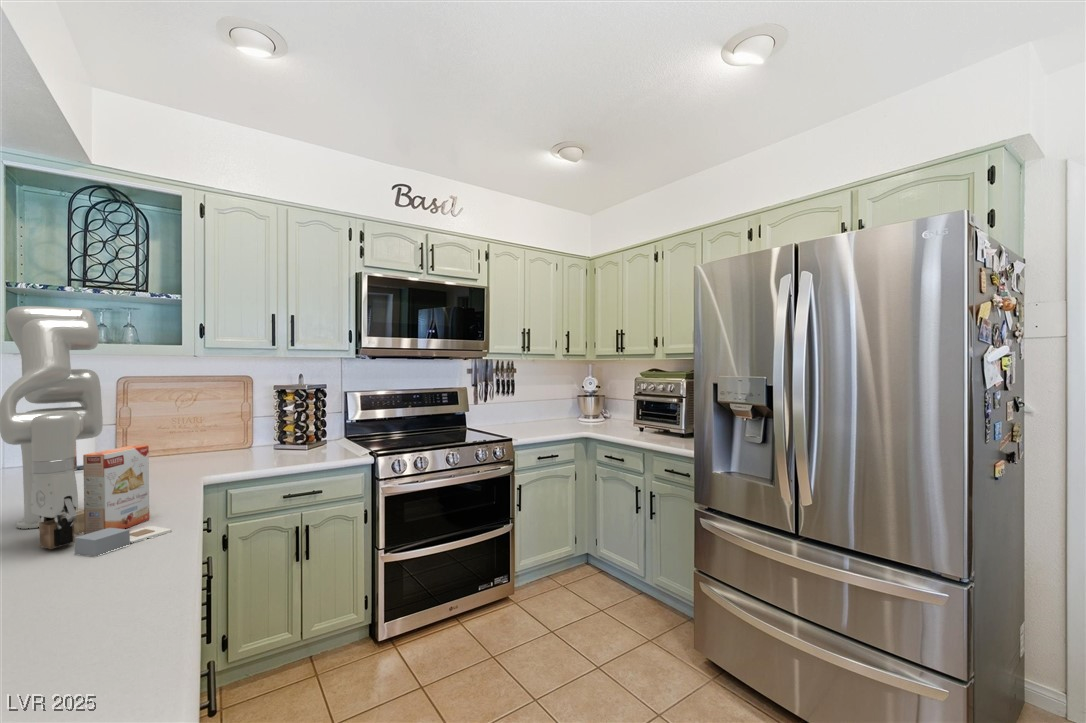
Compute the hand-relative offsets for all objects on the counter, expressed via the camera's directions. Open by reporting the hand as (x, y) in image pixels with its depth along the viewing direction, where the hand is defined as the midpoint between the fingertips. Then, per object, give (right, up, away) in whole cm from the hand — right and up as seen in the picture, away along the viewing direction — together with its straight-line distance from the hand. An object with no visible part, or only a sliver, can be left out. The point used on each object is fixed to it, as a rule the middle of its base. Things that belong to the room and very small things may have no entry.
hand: (57, 542), depth 118 cm
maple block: (-6, -2, +12) cm, 14 cm away
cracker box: (+3, -1, +14) cm, 14 cm away
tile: (+14, -1, +7) cm, 16 cm away
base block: (+13, -1, -2) cm, 13 cm away
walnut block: (0, 0, 0) cm, 0 cm away
